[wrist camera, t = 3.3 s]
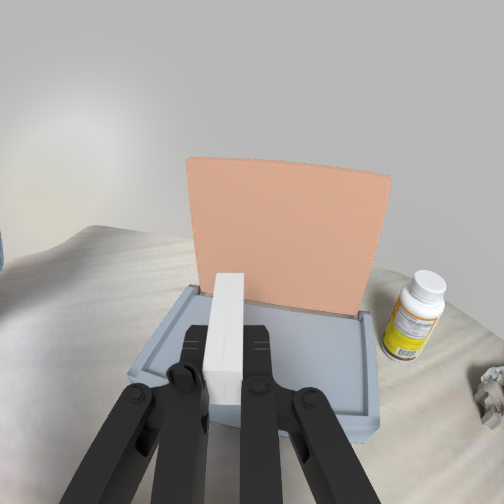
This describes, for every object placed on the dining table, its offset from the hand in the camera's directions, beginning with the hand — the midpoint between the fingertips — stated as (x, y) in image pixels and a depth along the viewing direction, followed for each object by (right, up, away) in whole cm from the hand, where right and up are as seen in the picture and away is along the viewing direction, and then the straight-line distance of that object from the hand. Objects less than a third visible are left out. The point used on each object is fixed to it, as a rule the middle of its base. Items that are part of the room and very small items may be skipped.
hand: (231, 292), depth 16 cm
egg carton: (+32, -16, +3) cm, 36 cm away
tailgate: (+4, -4, +16) cm, 16 cm away
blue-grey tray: (+2, -10, +11) cm, 15 cm away
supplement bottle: (+19, -10, +13) cm, 25 cm away
